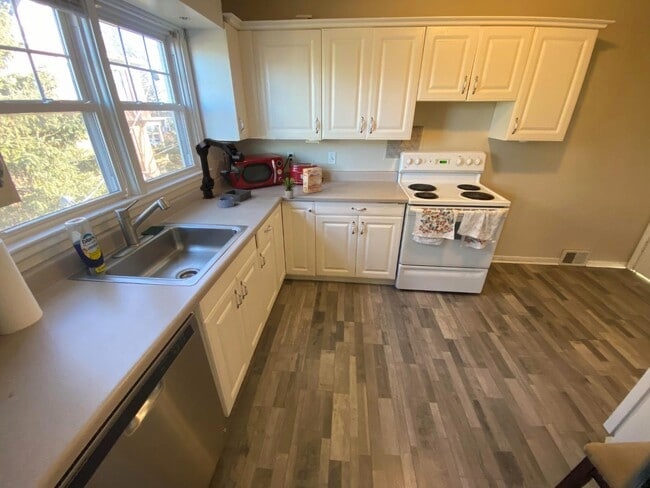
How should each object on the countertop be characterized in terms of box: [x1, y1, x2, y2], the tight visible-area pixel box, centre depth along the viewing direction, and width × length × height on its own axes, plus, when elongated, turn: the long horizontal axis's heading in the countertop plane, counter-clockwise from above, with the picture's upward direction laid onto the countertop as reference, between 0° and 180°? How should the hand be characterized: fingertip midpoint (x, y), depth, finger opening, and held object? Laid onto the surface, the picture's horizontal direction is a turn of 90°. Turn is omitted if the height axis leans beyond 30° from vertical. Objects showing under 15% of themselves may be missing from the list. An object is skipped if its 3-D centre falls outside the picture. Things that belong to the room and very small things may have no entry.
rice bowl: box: [218, 196, 235, 209], centre depth 199 cm, size 10×10×5 cm
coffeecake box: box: [302, 166, 323, 195], centre depth 235 cm, size 15×7×20 cm, turn 129°
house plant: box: [282, 177, 298, 200], centre depth 216 cm, size 14×14×16 cm
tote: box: [221, 188, 252, 203], centre depth 217 cm, size 16×16×5 cm
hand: (233, 183), depth 203 cm, fingers open, 9 cm apart
